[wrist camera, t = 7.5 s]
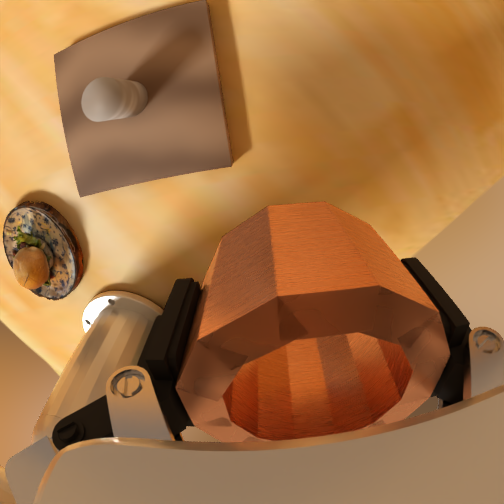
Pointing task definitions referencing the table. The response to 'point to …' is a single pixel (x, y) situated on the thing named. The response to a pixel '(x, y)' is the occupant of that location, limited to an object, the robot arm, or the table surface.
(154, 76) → the post stand
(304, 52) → the table surface
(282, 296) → the ring
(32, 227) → the burger
